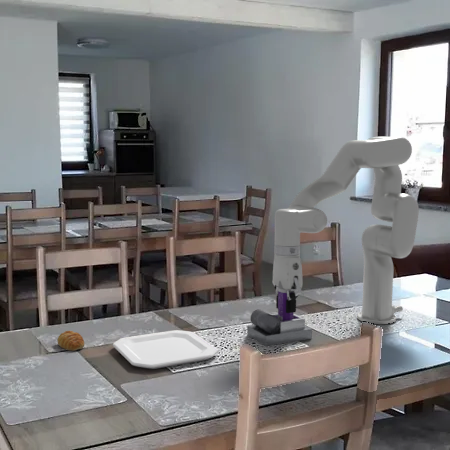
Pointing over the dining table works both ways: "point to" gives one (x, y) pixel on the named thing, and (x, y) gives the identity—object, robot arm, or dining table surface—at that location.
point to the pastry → (70, 340)
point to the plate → (164, 349)
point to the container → (283, 304)
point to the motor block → (277, 329)
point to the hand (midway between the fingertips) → (286, 309)
